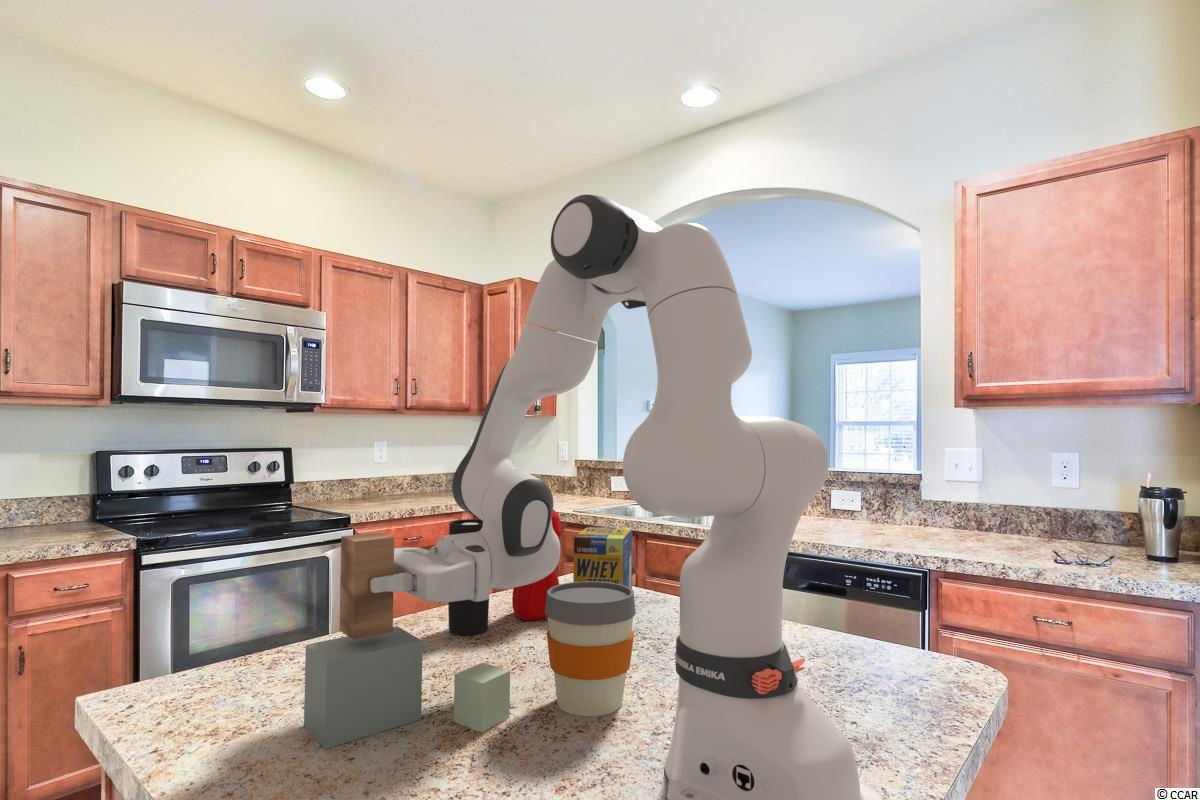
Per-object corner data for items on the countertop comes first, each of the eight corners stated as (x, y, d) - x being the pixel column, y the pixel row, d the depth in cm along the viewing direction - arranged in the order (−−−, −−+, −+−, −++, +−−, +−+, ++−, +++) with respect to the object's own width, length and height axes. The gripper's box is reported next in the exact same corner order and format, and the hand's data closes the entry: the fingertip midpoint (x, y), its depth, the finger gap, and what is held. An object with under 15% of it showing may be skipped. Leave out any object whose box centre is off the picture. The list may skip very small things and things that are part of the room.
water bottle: (520, 626, 122) (521, 494, 123) (509, 610, 132) (510, 488, 134) (567, 621, 125) (567, 492, 126) (553, 607, 135) (554, 487, 137)
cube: (509, 717, 84) (510, 670, 84) (482, 732, 79) (482, 683, 80) (481, 708, 86) (482, 662, 87) (453, 722, 82) (454, 674, 82)
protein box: (572, 613, 131) (572, 536, 132) (587, 594, 146) (587, 525, 147) (623, 616, 129) (623, 538, 130) (633, 596, 144) (633, 527, 145)
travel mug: (439, 634, 117) (440, 523, 118) (460, 622, 124) (461, 518, 125) (477, 638, 115) (478, 525, 116) (496, 625, 122) (497, 520, 123)
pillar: (392, 631, 82) (394, 537, 83) (353, 639, 79) (355, 541, 80) (377, 622, 86) (379, 532, 87) (339, 630, 83) (341, 536, 83)
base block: (421, 719, 83) (422, 640, 83) (324, 749, 75) (326, 662, 75) (395, 699, 89) (396, 626, 89) (303, 725, 81) (305, 644, 81)
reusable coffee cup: (651, 695, 90) (651, 587, 91) (607, 731, 80) (607, 608, 80) (575, 677, 97) (576, 577, 97) (525, 708, 86) (526, 595, 87)
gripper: (425, 534, 99) (333, 544, 90) (495, 553, 84) (392, 568, 75) (424, 575, 99) (332, 590, 90) (494, 602, 83) (391, 623, 74)
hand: (360, 580), depth 82 cm, fingers closed on pillar, 5 cm apart
